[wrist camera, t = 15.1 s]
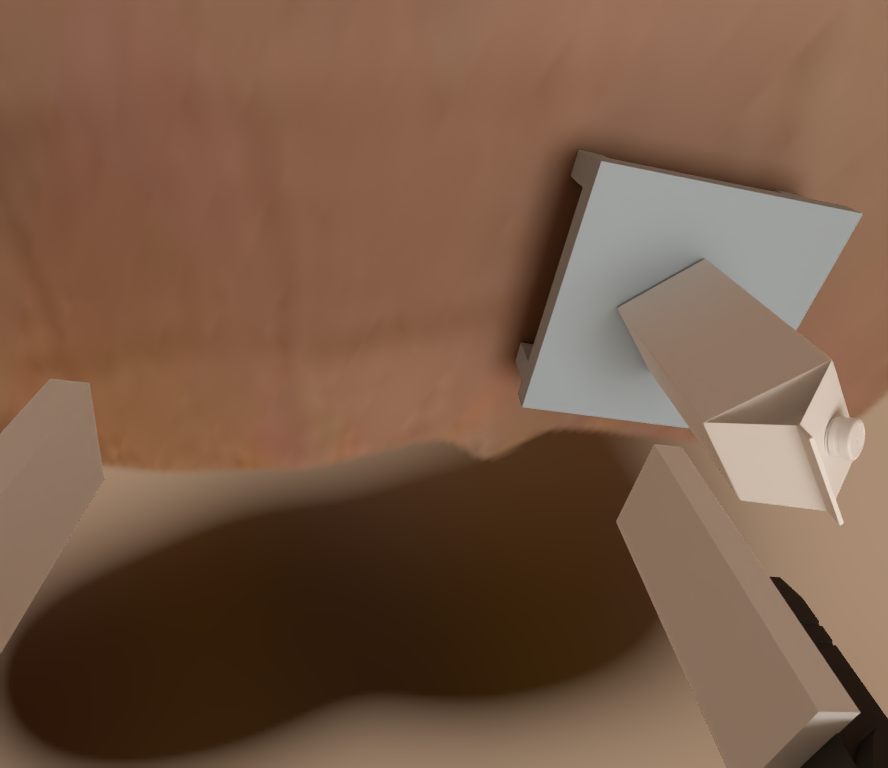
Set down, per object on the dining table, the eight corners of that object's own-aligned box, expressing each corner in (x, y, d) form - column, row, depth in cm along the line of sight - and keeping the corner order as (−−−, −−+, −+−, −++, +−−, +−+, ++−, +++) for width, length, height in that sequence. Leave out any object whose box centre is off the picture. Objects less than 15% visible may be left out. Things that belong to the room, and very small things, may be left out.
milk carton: (649, 371, 48) (776, 552, 32) (615, 306, 44) (738, 471, 28) (732, 328, 46) (911, 495, 30) (704, 256, 42) (889, 402, 26)
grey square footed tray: (508, 364, 55) (522, 407, 49) (574, 141, 44) (601, 160, 38) (701, 391, 58) (736, 434, 52) (805, 189, 47) (863, 213, 41)
